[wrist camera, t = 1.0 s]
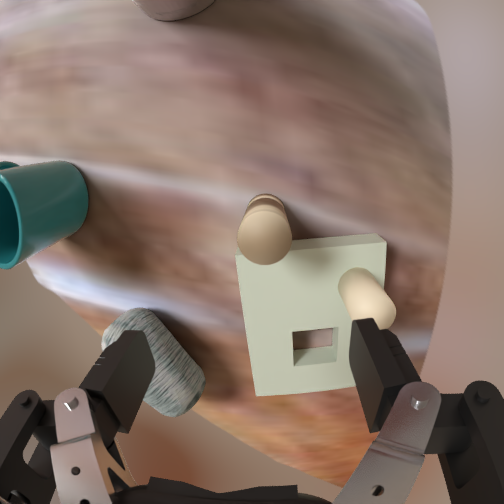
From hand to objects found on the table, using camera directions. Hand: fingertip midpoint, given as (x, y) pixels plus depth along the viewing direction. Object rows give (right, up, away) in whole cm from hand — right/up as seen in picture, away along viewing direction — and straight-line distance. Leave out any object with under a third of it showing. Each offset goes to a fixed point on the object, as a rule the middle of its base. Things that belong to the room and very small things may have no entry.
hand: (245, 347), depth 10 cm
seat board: (+7, -4, +21) cm, 22 cm away
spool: (-11, -8, +23) cm, 27 cm away
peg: (+2, +7, +17) cm, 19 cm away
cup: (-23, +11, +17) cm, 31 cm away
